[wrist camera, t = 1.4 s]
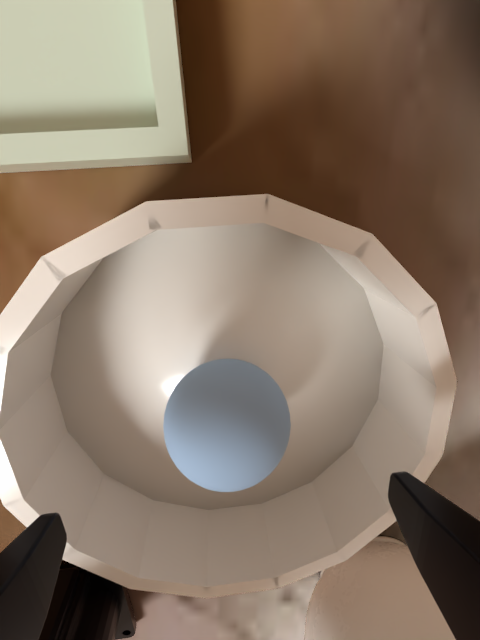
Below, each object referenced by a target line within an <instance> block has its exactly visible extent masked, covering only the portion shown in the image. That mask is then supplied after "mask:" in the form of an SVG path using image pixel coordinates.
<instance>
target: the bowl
mask: <svg viewBox="0 0 480 640" xmlns="http://www.w3.org/2000/svg"><path fill="white" fill-rule="evenodd" d="M218 359H238V360H243V361H246V362H249V363H252V364H254V365H256V366H258V367H259V368H261V369H262V370H264V371H265V372H266V373H268V374H269V375H270V376H271V377H272V378H273V379H274V381H275V382H276V383H277V384H278V385H279V387H280V389H281V390H282V392H283V394H284V396H285V399H286V401H287V404H288V408H289V412H290V423H291V428H290V437H289V441H288V445H287V448H286V450H285V453H284V455H283V457H282V459H281V461H280V462H279V464H278V465H277V467H276V468H275V469H274V470H273V471H272V472H271V473H270V475H268V476H267V477H266V478H265V479H263V480H262V481H261V482H259V483H258V484H256V485H254V486H252V487H250V488H247V489H244V490H240V491H234V492H218V491H212V490H208V489H206V488H203V487H201V486H199V485H197V484H195V483H193V482H192V481H190V480H189V479H188V478H187V477H186V476H184V475H183V474H182V473H181V472H180V470H179V469H178V468H177V467H176V465H175V464H174V462H173V460H172V459H171V457H170V455H169V452H168V450H167V447H166V443H165V439H164V429H163V423H164V413H165V409H166V405H167V402H168V400H169V397H170V395H171V393H172V392H173V390H174V388H175V387H176V385H177V384H178V383H179V382H180V380H181V379H182V378H183V377H184V376H185V375H186V374H188V373H189V372H190V371H191V370H193V369H194V368H196V367H198V366H199V365H201V364H204V363H206V362H209V361H213V360H218ZM457 383H458V381H457V378H456V375H455V371H454V367H453V363H452V359H451V356H450V352H449V348H448V344H447V341H446V337H445V333H444V329H443V326H442V322H441V318H440V314H439V311H438V307H437V303H436V302H435V301H434V300H433V299H432V298H431V297H430V296H429V295H428V294H427V292H426V291H425V290H424V289H423V288H422V287H421V286H420V285H419V284H418V283H417V282H416V281H415V279H414V278H413V277H412V276H411V275H410V274H409V273H408V272H407V271H406V270H405V269H404V268H403V266H402V265H401V264H400V263H399V262H398V261H397V260H396V259H395V258H394V257H393V256H392V255H391V253H390V252H389V251H388V250H387V249H386V248H385V247H384V246H383V245H382V244H381V243H380V242H379V240H378V239H377V238H376V237H375V236H374V235H373V234H372V233H369V232H366V231H364V230H361V229H359V228H356V227H353V226H351V225H348V224H345V223H343V222H340V221H338V220H335V219H332V218H330V217H327V216H325V215H322V214H319V213H317V212H314V211H312V210H309V209H306V208H304V207H301V206H298V205H296V204H293V203H291V202H288V201H285V200H283V199H280V198H278V197H275V196H272V195H270V194H258V195H242V196H225V197H209V198H193V199H176V200H160V201H145V202H144V203H142V204H140V205H138V206H136V207H135V208H133V209H131V210H129V211H127V212H125V213H123V214H121V215H119V216H118V217H116V218H114V219H112V220H110V221H108V222H106V223H104V224H103V225H101V226H99V227H97V228H95V229H93V230H91V231H89V232H87V233H86V234H84V235H82V236H80V237H78V238H76V239H74V240H72V241H70V242H69V243H67V244H65V245H63V246H61V247H59V248H57V249H55V250H54V251H52V252H50V253H48V254H46V255H44V256H42V257H41V258H40V260H39V261H38V262H37V264H36V265H35V267H34V268H33V269H32V271H31V272H30V274H29V275H28V276H27V278H26V279H25V281H24V282H23V284H22V285H21V286H20V288H19V289H18V291H17V292H16V293H15V295H14V296H13V298H12V299H11V300H10V302H9V303H8V305H7V306H6V308H5V309H4V310H3V312H2V313H1V315H0V499H1V501H2V504H3V506H4V507H5V508H6V509H8V510H9V511H10V512H11V513H12V514H13V515H14V516H15V517H16V518H17V519H18V520H19V521H20V522H21V523H23V524H24V525H25V526H26V527H28V526H29V525H30V524H31V523H32V522H34V521H35V520H36V519H37V518H38V517H39V516H40V515H42V514H47V513H55V512H56V513H59V514H60V516H61V519H62V522H63V525H64V528H65V531H66V534H67V542H66V547H65V550H64V554H63V558H62V560H64V561H67V562H69V563H71V564H74V565H76V566H78V567H81V568H83V569H85V570H87V571H90V572H92V573H94V574H97V575H99V576H101V577H104V578H106V579H108V580H111V581H113V582H115V583H117V584H120V585H122V586H124V587H127V588H129V589H133V590H141V591H149V592H157V593H166V594H174V595H182V596H190V597H198V598H212V597H219V596H227V595H234V594H241V593H248V592H256V591H263V590H270V589H278V588H281V587H283V586H286V585H288V584H290V583H293V582H295V581H298V580H300V579H303V578H305V577H307V576H310V575H312V574H315V573H317V572H320V571H322V570H324V569H327V568H329V567H332V566H334V565H336V564H339V563H341V562H344V561H346V560H347V559H349V558H350V557H351V556H352V555H354V554H355V553H356V552H358V551H359V550H360V549H361V548H363V547H364V546H365V545H366V544H368V543H369V542H370V541H372V540H373V539H374V538H375V537H377V536H378V535H379V534H380V533H382V532H383V531H384V530H385V529H387V528H388V527H389V526H391V525H392V524H393V523H394V522H396V521H397V520H396V518H395V515H394V513H393V511H392V508H391V506H390V503H389V500H388V489H389V481H390V475H391V474H392V473H394V472H402V471H405V472H408V473H410V474H411V475H413V476H414V477H416V478H417V479H419V480H420V481H421V482H423V483H425V482H426V480H427V479H428V477H429V476H430V474H431V473H432V471H433V470H434V468H435V466H436V465H437V463H438V462H439V460H440V459H441V457H442V456H443V452H444V447H445V442H446V437H447V432H448V427H449V422H450V417H451V412H452V407H453V402H454V397H455V392H456V387H457Z"/></svg>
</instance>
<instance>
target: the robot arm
mask: <svg viewBox="0 0 480 640" xmlns="http://www.w3.org/2000/svg"><path fill="white" fill-rule="evenodd" d="M388 500H389V503H390V506H391V508H392V511H393V513H394V515H395V518H396V520H397V522H398V525H399V527H400V529H401V532H402V534H403V536H404V539H405V541H406V543H407V546H408V548H409V550H410V553H411V555H412V557H413V560H414V562H415V564H416V566H417V568H418V570H419V572H420V574H421V576H422V578H423V579H424V581H425V583H426V585H427V587H428V589H429V591H430V592H431V594H432V596H433V598H434V600H435V602H436V604H437V606H438V607H439V609H440V611H441V613H442V615H443V617H444V619H445V620H446V622H447V624H448V626H449V628H450V630H451V632H452V634H453V635H454V637H455V639H456V640H480V521H479V520H477V519H476V518H474V517H473V516H471V515H470V514H469V513H467V512H466V511H464V510H463V509H461V508H460V507H458V506H457V505H455V504H454V503H452V502H451V501H449V500H448V499H446V498H445V497H444V496H442V495H441V494H439V493H438V492H436V491H435V490H433V489H432V488H430V487H429V486H427V485H426V484H424V483H423V482H421V481H420V480H419V479H417V478H416V477H414V476H413V475H411V474H410V473H408V472H405V471H402V472H394V473H392V474H391V475H390V481H389V489H388ZM66 542H67V534H66V531H65V528H64V525H63V522H62V519H61V516H60V514H59V513H56V512H55V513H47V514H42V515H40V516H39V517H38V518H37V519H36V520H35V521H34V522H32V523H31V524H30V525H29V526H28V527H27V528H26V529H25V530H24V531H23V532H22V533H21V534H20V535H19V536H18V537H17V538H16V539H15V540H13V541H12V542H11V543H10V544H9V545H8V546H7V547H6V548H5V549H4V550H3V551H2V552H1V553H0V640H115V639H122V638H129V637H132V636H133V635H134V634H135V630H136V621H135V617H134V613H133V610H132V606H131V602H130V599H129V595H128V591H127V588H126V587H124V586H122V585H120V584H117V583H115V582H113V581H111V580H108V579H106V578H104V577H101V576H99V575H97V574H94V573H92V572H90V571H87V570H85V569H83V568H81V567H78V566H76V565H74V564H67V565H61V562H62V558H63V554H64V550H65V547H66Z"/></svg>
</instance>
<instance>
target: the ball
mask: <svg viewBox="0 0 480 640" xmlns="http://www.w3.org/2000/svg"><path fill="white" fill-rule="evenodd" d="M290 428H291V423H290V412H289V408H288V404H287V401H286V399H285V396H284V394H283V392H282V390H281V389H280V387H279V385H278V384H277V383H276V382H275V381H274V379H273V378H272V377H271V376H270V375H269V374H268V373H266V372H265V371H264V370H262V369H261V368H259V367H258V366H256V365H254V364H252V363H249V362H246V361H243V360H238V359H218V360H213V361H209V362H206V363H204V364H201V365H199V366H198V367H196V368H194V369H193V370H191V371H190V372H189V373H188V374H186V375H185V376H184V377H183V378H182V379H181V380H180V382H179V383H178V384H177V385H176V387H175V388H174V390H173V392H172V393H171V395H170V397H169V400H168V402H167V405H166V409H165V413H164V423H163V429H164V439H165V443H166V447H167V450H168V452H169V455H170V457H171V459H172V460H173V462H174V464H175V465H176V467H177V468H178V469H179V470H180V472H181V473H182V474H183V475H184V476H186V477H187V478H188V479H189V480H190V481H192V482H193V483H195V484H197V485H199V486H201V487H203V488H206V489H208V490H212V491H218V492H234V491H240V490H244V489H247V488H250V487H252V486H254V485H256V484H258V483H259V482H261V481H262V480H263V479H265V478H266V477H267V476H268V475H270V473H271V472H272V471H273V470H274V469H275V468H276V467H277V465H278V464H279V462H280V461H281V459H282V457H283V455H284V453H285V450H286V448H287V445H288V441H289V437H290Z"/></svg>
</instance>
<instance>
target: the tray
mask: <svg viewBox="0 0 480 640" xmlns="http://www.w3.org/2000/svg"><path fill="white" fill-rule="evenodd" d="M176 163H192V159H191V149H190V139H189V129H188V119H187V108H186V98H185V88H184V78H183V68H182V58H181V48H180V38H179V28H178V18H177V8H176V0H0V173H10V172H28V171H47V170H65V169H83V168H102V167H120V166H139V165H157V164H176Z"/></svg>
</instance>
